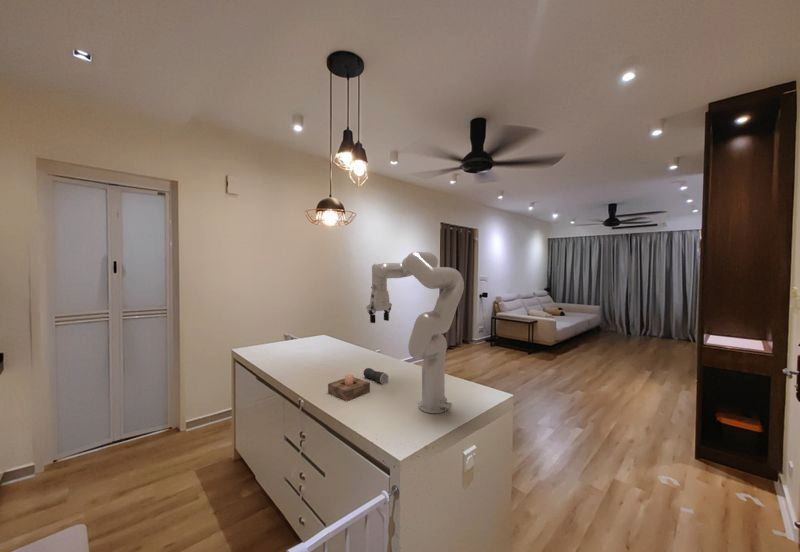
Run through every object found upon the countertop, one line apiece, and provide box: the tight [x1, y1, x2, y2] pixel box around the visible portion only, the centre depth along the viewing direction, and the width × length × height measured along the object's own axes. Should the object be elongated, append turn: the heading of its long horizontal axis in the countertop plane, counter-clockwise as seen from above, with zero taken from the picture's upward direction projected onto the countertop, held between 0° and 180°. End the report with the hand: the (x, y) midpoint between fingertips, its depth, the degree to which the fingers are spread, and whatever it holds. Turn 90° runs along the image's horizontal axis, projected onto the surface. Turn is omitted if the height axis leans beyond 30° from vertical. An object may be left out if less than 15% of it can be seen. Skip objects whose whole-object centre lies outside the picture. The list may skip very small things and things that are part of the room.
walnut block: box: [327, 376, 371, 402], centre depth 149 cm, size 14×14×4 cm
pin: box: [344, 374, 354, 386], centre depth 149 cm, size 4×4×8 cm
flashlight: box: [362, 367, 389, 385], centre depth 166 cm, size 15×5×5 cm, turn 44°
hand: (379, 321), depth 159 cm, fingers open, 9 cm apart
